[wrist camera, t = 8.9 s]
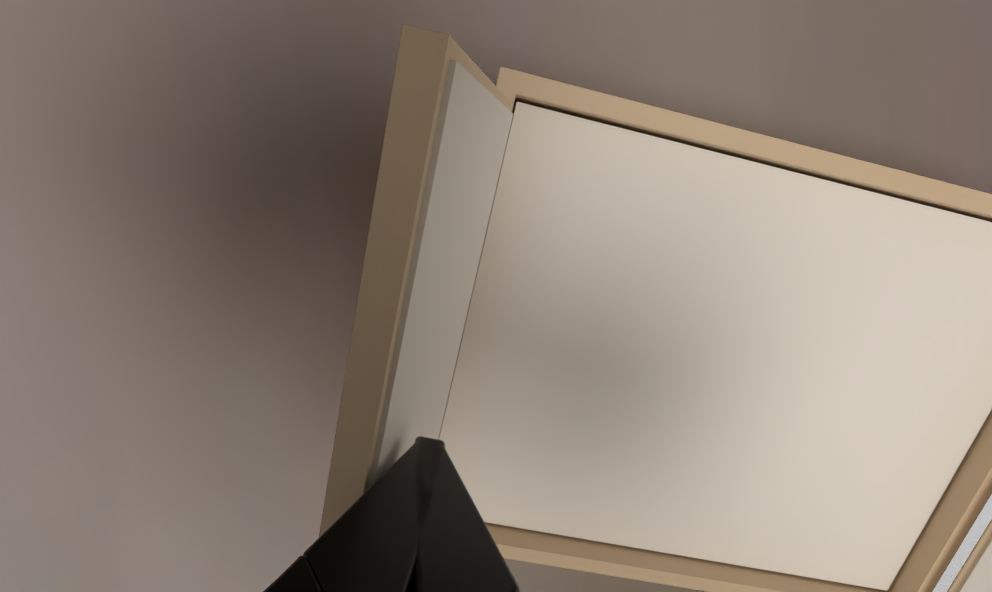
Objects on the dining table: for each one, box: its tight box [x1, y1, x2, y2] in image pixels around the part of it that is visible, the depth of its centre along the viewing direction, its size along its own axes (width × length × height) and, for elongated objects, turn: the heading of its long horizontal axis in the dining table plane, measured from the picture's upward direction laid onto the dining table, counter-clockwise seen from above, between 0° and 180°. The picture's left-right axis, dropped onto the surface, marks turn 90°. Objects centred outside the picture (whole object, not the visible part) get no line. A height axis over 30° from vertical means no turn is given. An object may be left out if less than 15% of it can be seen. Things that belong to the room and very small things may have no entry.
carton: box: [438, 67, 992, 592], centre depth 18 cm, size 14×18×6 cm
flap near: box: [319, 24, 513, 537], centre depth 10 cm, size 12×7×1 cm
